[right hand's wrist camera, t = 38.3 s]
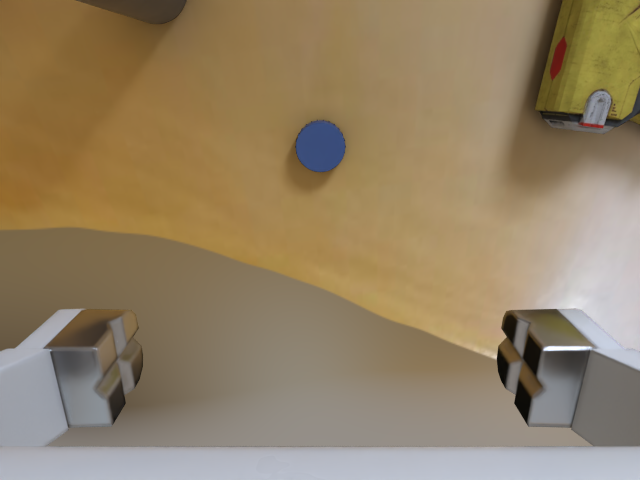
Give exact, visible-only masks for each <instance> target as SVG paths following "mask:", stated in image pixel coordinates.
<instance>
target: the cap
mask: <svg viewBox="0 0 640 480" xmlns="http://www.w3.org/2000/svg"><path fill="white" fill-rule="evenodd" d="M344 141H345V140H344V138H343V134H342V133H341V132H340V130H339V128H337V127H336V126H335V124H332V123H330V121H328V122H327V121H324V120H323V121H322V120H319V121H318V120H317V121H313V122H312V121H311V123H309V124H306V126H305V127H304V128H302V129H301V132H300V133H299V134H298V138H297V140H296V146H295V148H296V154H297V156H298V159H299V160H300V162H301V163H302V164H303V165H304V166H305V167H306V168H308V169H310V170H312V171H316V172H325V171H329V170H331V169H333V168H335V167H336V166H337V165H338V164H339V163H340V161H341V160H342V159H343V156H344V153H345V147H346V146H345V142H344Z"/></svg>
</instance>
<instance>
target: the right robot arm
mask: <svg viewBox="0 0 640 480" xmlns="http://www.w3.org/2000/svg"><path fill="white" fill-rule="evenodd" d="M501 328H502V330H503V331H504V333H505V335H506V336H507V338H506V339H505V340H504V341H503V342H502V343H501V344H500V345H499V346H498V354H497V365H498V373H499V376H500V379H501V381H502V383H503V385H504V387H505V388H506V389H507V390H509V391H510V392H512V393H513V394H515V395H516V397H515V402H514V404H515V405H516V407H517V409H518V410H519V412H520V413H521V415H522V417H523V418H524V420H525V422H526V423H527V425H528V426H531V427H567V428H572V429H571V430H573V431H574V432H575V433H577V434H578V435H580V436H581V437H582V438H583V439H585V440H586V441H588V442H589V443H590V444H592V445H593V446H47V445H49V444H50V443H51V442H53V441H54V440H55V439H57V438H58V437H59V436H61V435H62V434H63V433H65V432H66V431H67V430H68V428H72V427H108V426H112V425H113V423H114V422H115V420H116V418H117V417H118V415H119V413H120V412H121V410H122V408H123V407H124V405H125V397H124V395H125V394H126V393H128V392H130V391H131V390H133V389H134V388H135V387H136V385H137V383H138V381H139V379H140V375H141V371H142V367H143V353H142V346H141V345H140V344H139V343H138V342H137V341H136V340H135V339H134V338H133V336H134V335H135V333H136V331H137V330H138V323H137V318H136V314H135V313H134V312H133V311H132V310H105V309H62V310H58V311H57V312H56V313H55V314H54V315H52V316H51V317H50V318H49V319H48V320H47V321H46V322H44V323H43V324H42V325H41V326H40V327H39V328H38V329H37V330H35V331H34V332H33V333H32V334H31V335H30V336H29V337H28V338H26V339H25V340H24V341H23V342H22V343H21V344H20V345H18V346H17V347H16V348H15V349H5V350H3V351H0V480H640V351H637V350H635V349H625V348H624V347H623V346H622V345H621V344H619V343H618V342H617V341H616V340H615V339H614V338H613V337H611V336H610V335H609V334H608V333H607V332H606V331H605V330H604V329H602V328H601V327H600V326H599V325H598V324H597V323H596V322H594V321H593V320H592V319H591V318H590V317H589V316H588V315H587V314H585V313H584V312H583V311H582V310H579V309H538V310H510V311H506V313H505V315H504V317H503V322H502V327H501Z"/></svg>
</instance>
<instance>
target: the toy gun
mask: <svg viewBox="0 0 640 480" xmlns="http://www.w3.org/2000/svg"><path fill="white" fill-rule="evenodd" d="M535 110H537V111H540V113H541V115H542V118H543V119H544V120H545V121H546V122H547V123H548V124H549V125H550V126H551V127H552V128H559V129H567V130H575V131H584V132H592V133H601V134H605V133H606V132H608V131H609V130H611V129H613V128H614V127H618V126H620V125H621V124H623V123H625V122H626V121H628V120H630V121H633V122H635V123H637V124H639V125H640V0H562V4H561V8H560V12H559V16H558V20H557V24H556V28H555V32H554V36H553V40H552V43H551V47H550V51H549V55H548V59H547V63H546V67H545V71H544V75H543V79H542V83H541V87H540V91H539V95H538V98H537V102H536V106H535Z"/></svg>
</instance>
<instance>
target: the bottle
mask: <svg viewBox="0 0 640 480" xmlns="http://www.w3.org/2000/svg"><path fill="white" fill-rule="evenodd" d="M76 1H80V2H83V3H86V4H89V5H93V6H96V7H99V8H102V9H106V10H109V11H112V12H115V13H119V14H122V15H125V16H128V17H131V18H135V19H138V20H141V21H144V22H148V23H152V24H162V23H166V22H169V21H171V20H173V19H174V18H175V17H177V16H178V15H179V13H180V12H181V11H182V9H183V7H184V5H185V3H186V0H76Z"/></svg>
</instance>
